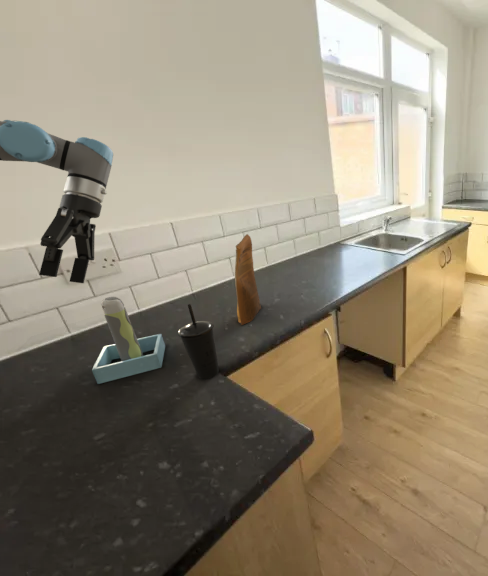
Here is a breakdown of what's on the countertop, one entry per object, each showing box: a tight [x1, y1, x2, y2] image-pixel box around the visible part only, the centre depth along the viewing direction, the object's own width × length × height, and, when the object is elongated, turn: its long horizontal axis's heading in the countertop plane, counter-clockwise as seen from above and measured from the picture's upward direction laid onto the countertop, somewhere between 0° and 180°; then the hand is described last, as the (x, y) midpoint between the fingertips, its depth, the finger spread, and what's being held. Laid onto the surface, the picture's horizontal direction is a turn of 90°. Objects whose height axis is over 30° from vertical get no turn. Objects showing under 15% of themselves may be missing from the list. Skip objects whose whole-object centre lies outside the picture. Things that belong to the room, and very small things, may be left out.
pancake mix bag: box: [234, 233, 262, 326], centre depth 110 cm, size 7×19×28 cm, turn 3°
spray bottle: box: [100, 296, 145, 362], centre depth 85 cm, size 5×5×20 cm
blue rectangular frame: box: [91, 333, 166, 385], centre depth 88 cm, size 14×13×4 cm
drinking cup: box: [177, 303, 220, 380], centre depth 79 cm, size 8×8×20 cm
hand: (63, 279), depth 79 cm, fingers open, 13 cm apart
